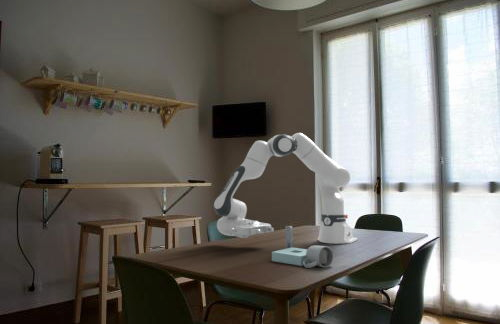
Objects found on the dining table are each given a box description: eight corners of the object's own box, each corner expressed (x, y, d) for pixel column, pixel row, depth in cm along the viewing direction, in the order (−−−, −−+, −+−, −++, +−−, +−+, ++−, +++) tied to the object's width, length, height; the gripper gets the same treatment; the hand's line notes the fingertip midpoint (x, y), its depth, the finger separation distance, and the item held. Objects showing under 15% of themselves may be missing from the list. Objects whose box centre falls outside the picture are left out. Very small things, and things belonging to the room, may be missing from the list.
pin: (288, 253, 170) (288, 225, 170) (294, 254, 168) (293, 226, 168) (284, 254, 168) (284, 226, 168) (290, 255, 166) (289, 226, 166)
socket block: (292, 255, 164) (292, 247, 164) (320, 259, 155) (320, 251, 155) (271, 260, 154) (271, 252, 154) (301, 265, 144) (301, 256, 145)
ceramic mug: (318, 262, 150) (318, 242, 151) (334, 266, 143) (333, 245, 144) (298, 266, 144) (297, 245, 145) (312, 270, 138) (312, 248, 138)
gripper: (228, 223, 178) (251, 225, 168) (257, 220, 193) (279, 222, 184) (228, 237, 177) (251, 240, 168) (257, 232, 193) (279, 235, 183)
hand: (266, 230), depth 176 cm, fingers open, 8 cm apart
